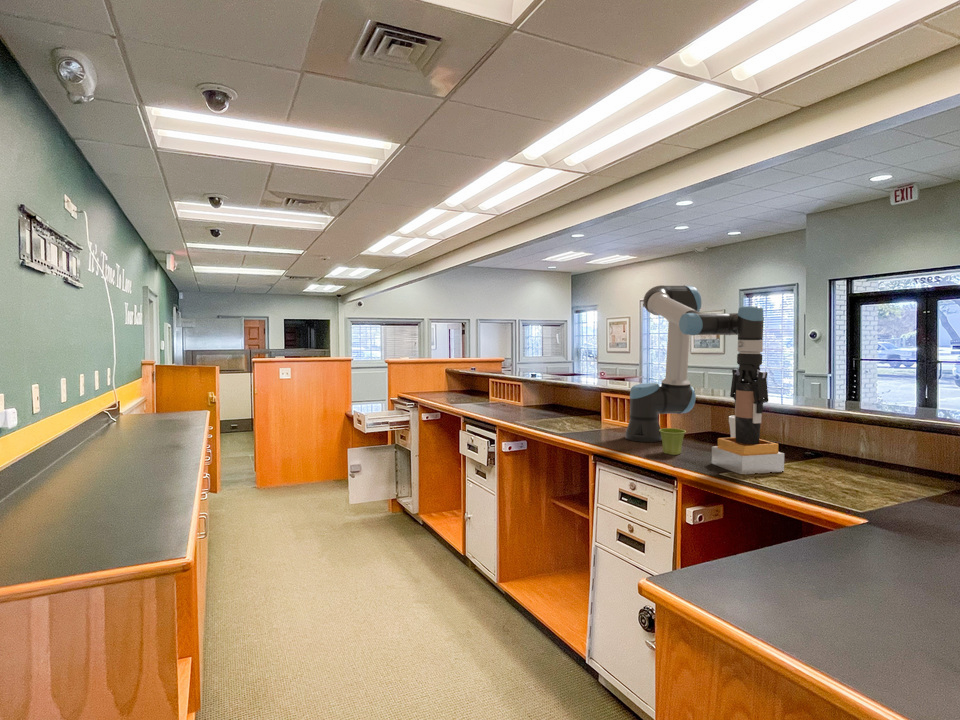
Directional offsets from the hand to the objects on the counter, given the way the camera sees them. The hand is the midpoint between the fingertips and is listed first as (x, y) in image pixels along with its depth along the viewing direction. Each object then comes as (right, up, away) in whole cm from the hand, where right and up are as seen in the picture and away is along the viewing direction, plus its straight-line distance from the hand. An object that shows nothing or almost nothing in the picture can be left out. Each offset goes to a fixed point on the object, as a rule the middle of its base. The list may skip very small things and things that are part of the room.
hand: (747, 421), depth 183 cm
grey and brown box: (+2, -16, +1) cm, 16 cm away
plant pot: (-18, -15, +22) cm, 32 cm away
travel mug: (0, -7, 0) cm, 7 cm away
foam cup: (+10, -15, +26) cm, 32 cm away
